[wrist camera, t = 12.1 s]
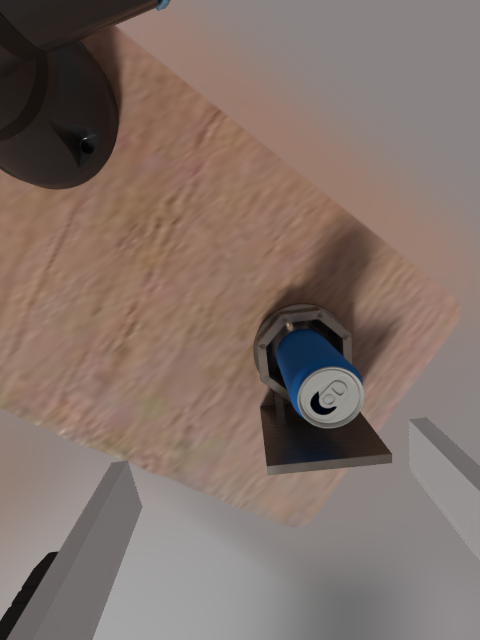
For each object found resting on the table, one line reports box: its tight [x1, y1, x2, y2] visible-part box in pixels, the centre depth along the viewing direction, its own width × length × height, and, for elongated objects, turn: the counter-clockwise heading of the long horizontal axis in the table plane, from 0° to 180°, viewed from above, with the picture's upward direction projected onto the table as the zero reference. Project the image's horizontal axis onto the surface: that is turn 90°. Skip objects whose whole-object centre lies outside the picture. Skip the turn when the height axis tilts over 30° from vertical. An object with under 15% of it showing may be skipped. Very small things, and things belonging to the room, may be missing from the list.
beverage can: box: [276, 329, 364, 428], centre depth 30 cm, size 6×6×12 cm
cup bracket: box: [254, 304, 392, 475], centre depth 31 cm, size 14×12×11 cm
